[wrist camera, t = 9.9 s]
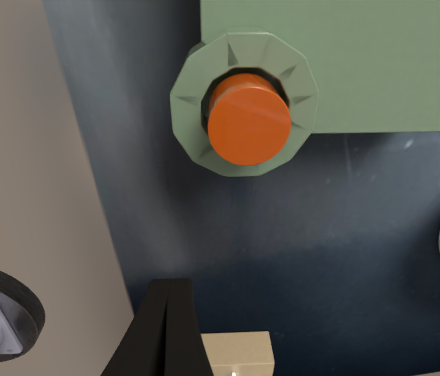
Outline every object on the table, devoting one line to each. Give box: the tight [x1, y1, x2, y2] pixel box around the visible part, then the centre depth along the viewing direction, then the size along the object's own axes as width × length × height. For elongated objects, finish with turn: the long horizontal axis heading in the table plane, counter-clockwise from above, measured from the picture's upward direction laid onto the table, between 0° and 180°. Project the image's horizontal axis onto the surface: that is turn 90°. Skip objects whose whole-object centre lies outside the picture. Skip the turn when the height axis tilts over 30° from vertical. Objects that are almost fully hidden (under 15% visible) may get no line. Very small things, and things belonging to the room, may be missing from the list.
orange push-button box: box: [170, 0, 440, 177], centre depth 13 cm, size 13×13×5 cm
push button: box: [207, 73, 291, 166], centre depth 12 cm, size 3×3×2 cm
